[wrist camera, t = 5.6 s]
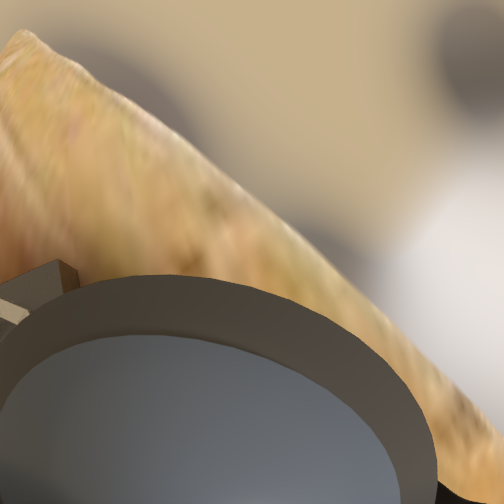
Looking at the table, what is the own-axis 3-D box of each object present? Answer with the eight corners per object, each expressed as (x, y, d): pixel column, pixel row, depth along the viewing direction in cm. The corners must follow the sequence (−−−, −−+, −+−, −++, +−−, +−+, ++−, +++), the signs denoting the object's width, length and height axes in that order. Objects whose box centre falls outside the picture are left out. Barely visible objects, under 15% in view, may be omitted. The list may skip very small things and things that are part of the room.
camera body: (139, 466, 14) (116, 491, 10) (21, 474, 12) (-10, 486, 8) (77, 270, 17) (44, 250, 13) (-23, 312, 16) (-57, 302, 12)
